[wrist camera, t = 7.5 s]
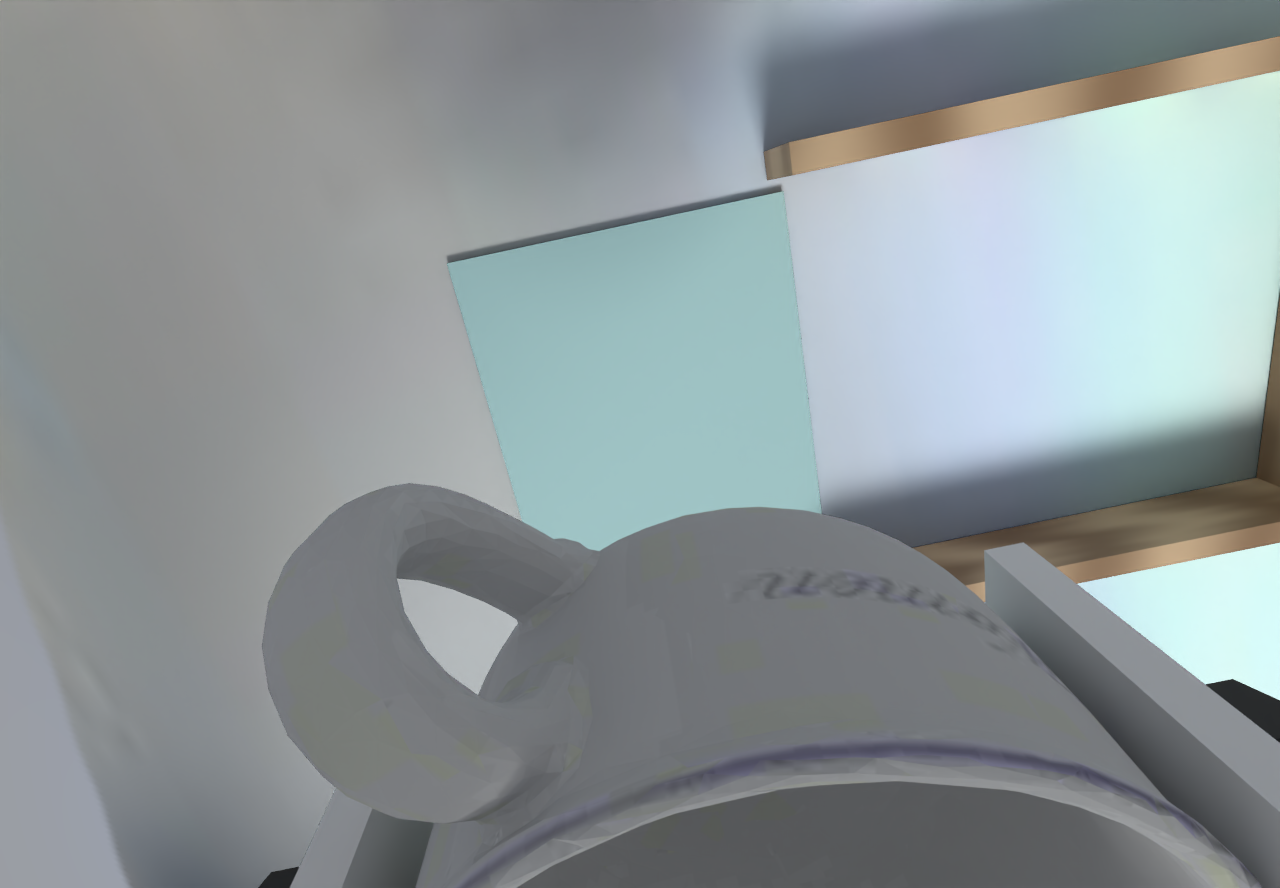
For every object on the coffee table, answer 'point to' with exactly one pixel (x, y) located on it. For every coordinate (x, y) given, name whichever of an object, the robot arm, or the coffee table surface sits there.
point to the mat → (646, 370)
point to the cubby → (1135, 530)
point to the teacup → (706, 712)
